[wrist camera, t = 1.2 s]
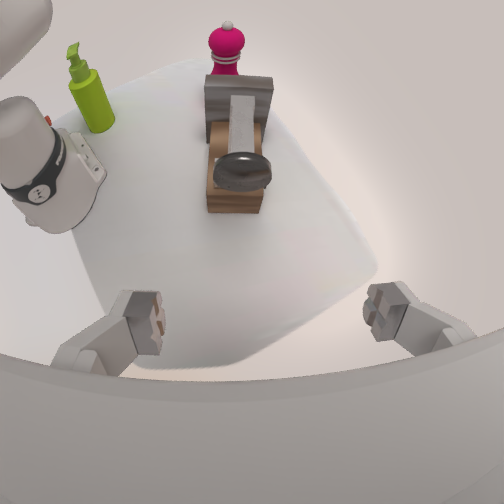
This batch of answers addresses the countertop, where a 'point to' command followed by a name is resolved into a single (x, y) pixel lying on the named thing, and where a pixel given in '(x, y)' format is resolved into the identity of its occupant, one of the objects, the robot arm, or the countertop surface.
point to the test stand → (218, 134)
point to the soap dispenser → (89, 93)
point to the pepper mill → (226, 49)
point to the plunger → (241, 152)
